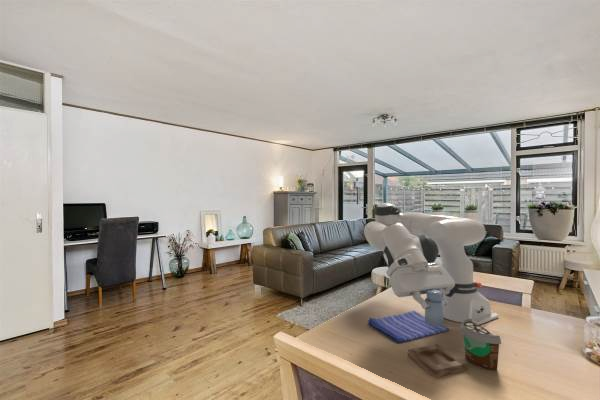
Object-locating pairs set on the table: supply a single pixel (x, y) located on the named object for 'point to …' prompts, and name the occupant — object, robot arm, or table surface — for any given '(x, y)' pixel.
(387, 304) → the table surface
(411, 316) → the dish towel
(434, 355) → the square wooden frame
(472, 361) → the food container
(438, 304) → the blue-grey shaker
